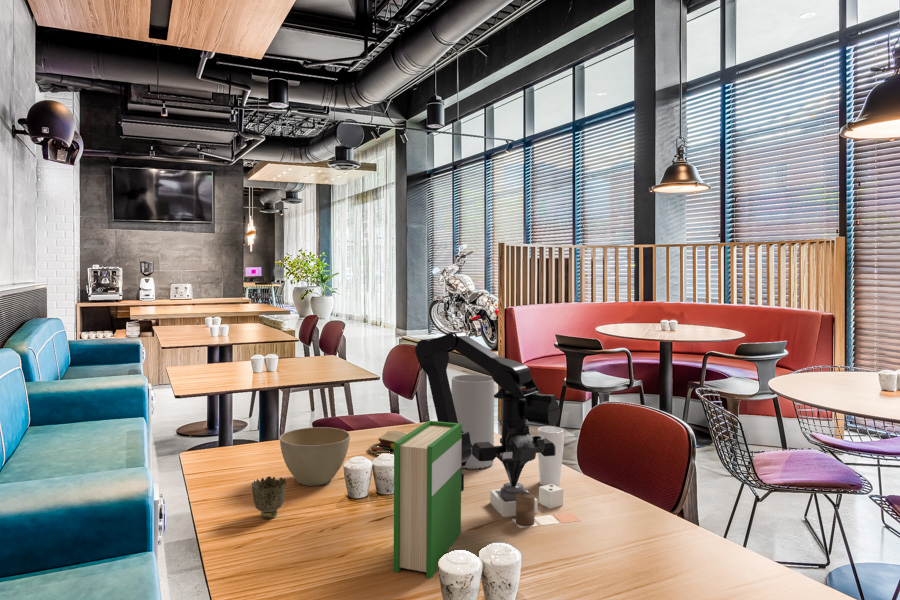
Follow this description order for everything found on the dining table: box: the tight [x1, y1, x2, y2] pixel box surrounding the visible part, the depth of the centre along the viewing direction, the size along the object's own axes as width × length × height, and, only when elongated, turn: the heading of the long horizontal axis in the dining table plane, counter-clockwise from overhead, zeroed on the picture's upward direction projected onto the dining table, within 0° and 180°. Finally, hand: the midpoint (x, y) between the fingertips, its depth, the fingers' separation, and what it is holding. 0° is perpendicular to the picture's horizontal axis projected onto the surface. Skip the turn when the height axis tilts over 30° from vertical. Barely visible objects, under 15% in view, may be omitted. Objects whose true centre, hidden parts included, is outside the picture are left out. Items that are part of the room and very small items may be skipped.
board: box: [489, 488, 581, 529], centre depth 131 cm, size 18×16×4 cm
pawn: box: [515, 491, 536, 527], centre depth 126 cm, size 4×4×6 cm
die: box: [538, 484, 564, 509], centre depth 136 cm, size 4×4×4 cm
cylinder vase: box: [451, 374, 495, 470], centre depth 169 cm, size 12×12×25 cm
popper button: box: [500, 481, 528, 502], centre depth 134 cm, size 6×6×5 cm
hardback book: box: [393, 420, 462, 579], centre depth 113 cm, size 18×7×24 cm, turn 161°
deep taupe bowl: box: [279, 426, 351, 487], centre depth 153 cm, size 18×18×12 cm
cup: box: [251, 476, 287, 520], centre depth 130 cm, size 8×7×8 cm
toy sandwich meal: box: [368, 430, 408, 455], centre depth 181 cm, size 12×14×5 cm
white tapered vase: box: [537, 425, 565, 486], centre depth 151 cm, size 7×7×15 cm
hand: (513, 485), depth 134 cm, fingers closed, pressing on popper button
